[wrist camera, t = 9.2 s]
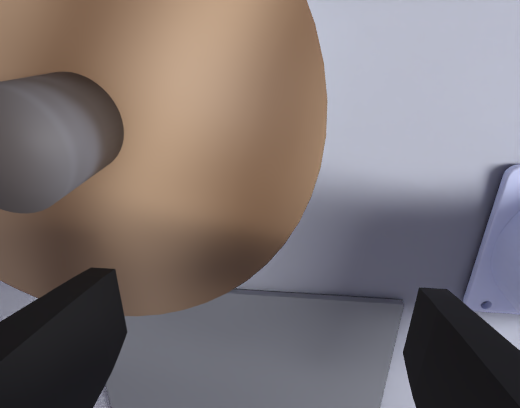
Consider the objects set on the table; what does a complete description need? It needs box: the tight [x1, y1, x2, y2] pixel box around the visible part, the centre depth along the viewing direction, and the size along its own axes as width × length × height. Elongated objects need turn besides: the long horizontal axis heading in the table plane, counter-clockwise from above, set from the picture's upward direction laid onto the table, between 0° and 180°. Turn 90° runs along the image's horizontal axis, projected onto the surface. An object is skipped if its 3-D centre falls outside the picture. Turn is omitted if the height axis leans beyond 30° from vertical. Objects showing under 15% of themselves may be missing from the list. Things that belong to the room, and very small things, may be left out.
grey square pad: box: [106, 289, 404, 408], centre depth 24 cm, size 18×18×1 cm
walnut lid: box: [0, 0, 327, 316], centre depth 10 cm, size 15×15×4 cm
